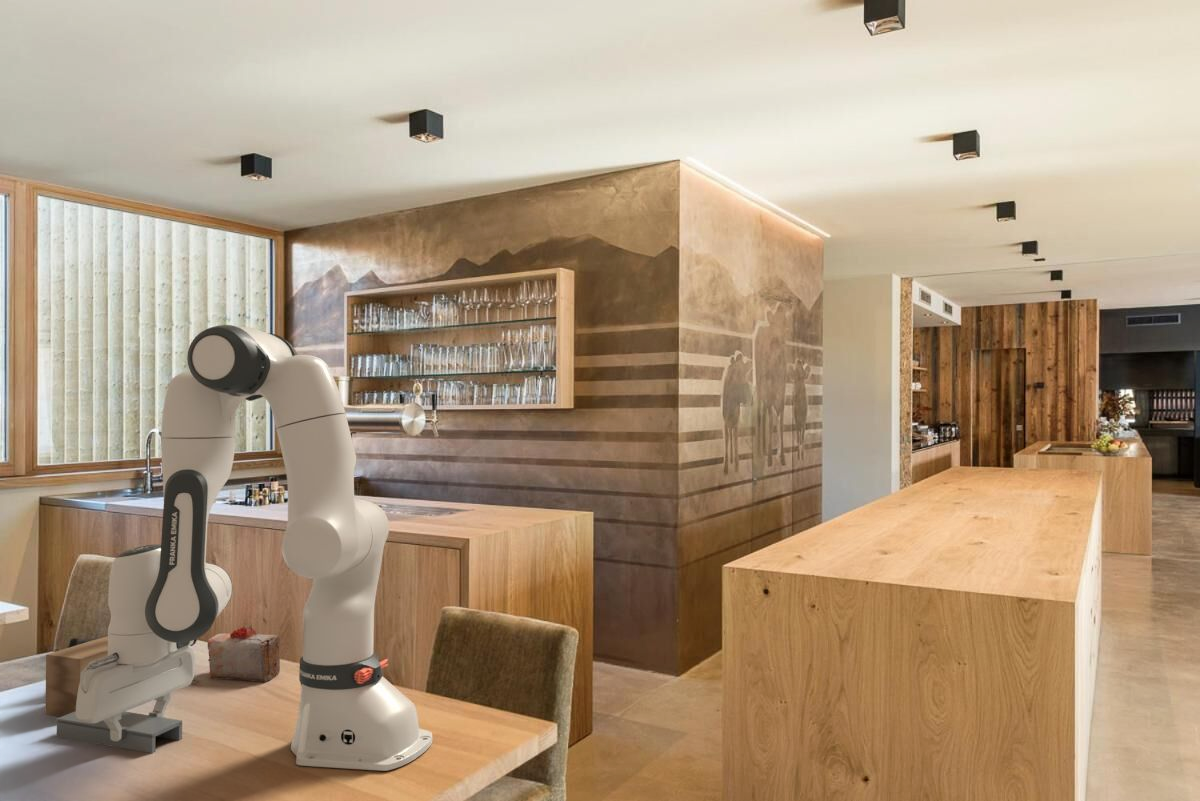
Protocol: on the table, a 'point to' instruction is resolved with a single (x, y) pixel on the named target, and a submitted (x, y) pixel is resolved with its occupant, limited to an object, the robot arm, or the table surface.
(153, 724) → the grey channel riser
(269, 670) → the food item
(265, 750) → the table surface
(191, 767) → the table surface
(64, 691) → the wooden arch
